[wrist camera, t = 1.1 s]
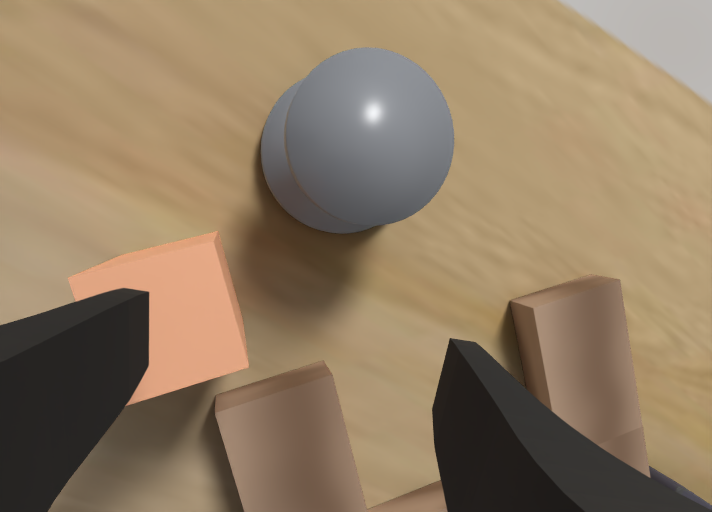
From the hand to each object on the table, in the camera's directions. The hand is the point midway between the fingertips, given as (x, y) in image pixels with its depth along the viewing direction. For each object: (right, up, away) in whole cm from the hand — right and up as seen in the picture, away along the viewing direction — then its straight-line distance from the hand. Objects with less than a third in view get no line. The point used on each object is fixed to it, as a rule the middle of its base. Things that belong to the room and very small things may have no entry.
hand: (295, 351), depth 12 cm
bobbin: (+1, +7, +10) cm, 13 cm away
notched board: (+6, -7, +13) cm, 16 cm away
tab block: (-6, +1, +9) cm, 11 cm away
